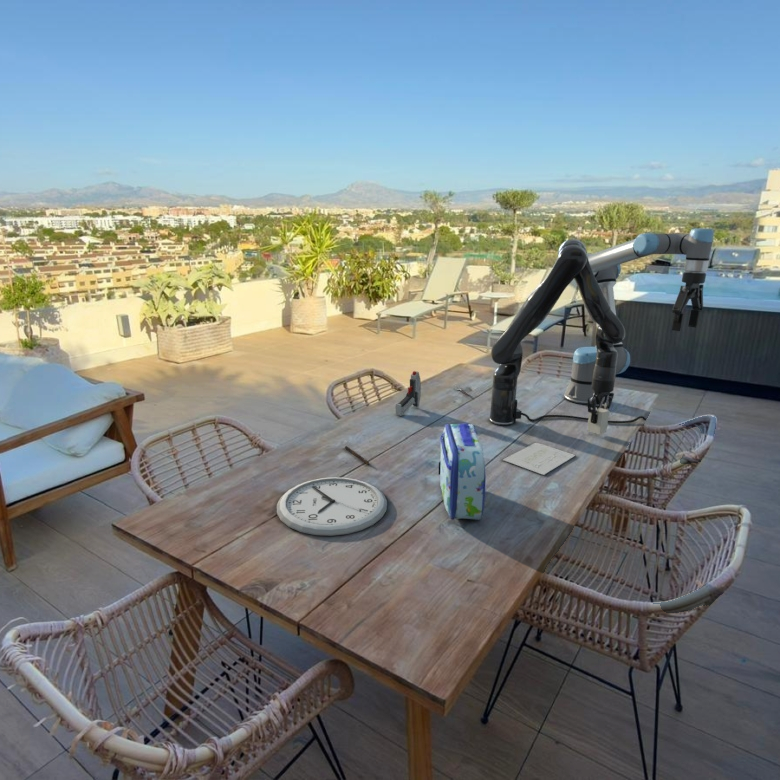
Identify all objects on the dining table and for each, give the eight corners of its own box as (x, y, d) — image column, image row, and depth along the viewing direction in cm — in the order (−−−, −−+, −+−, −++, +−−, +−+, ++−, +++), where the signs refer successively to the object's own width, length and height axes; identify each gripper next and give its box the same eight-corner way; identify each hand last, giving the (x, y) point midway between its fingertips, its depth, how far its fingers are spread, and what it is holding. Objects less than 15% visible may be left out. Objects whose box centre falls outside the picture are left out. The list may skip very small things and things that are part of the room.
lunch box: (436, 479, 158) (439, 414, 152) (472, 480, 158) (476, 415, 152) (443, 526, 133) (448, 451, 127) (486, 527, 133) (492, 452, 127)
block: (593, 428, 198) (596, 406, 195) (606, 432, 194) (609, 410, 191) (586, 430, 195) (589, 408, 193) (599, 434, 191) (602, 412, 189)
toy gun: (394, 379, 206) (416, 369, 217) (395, 417, 212) (416, 405, 223) (399, 380, 205) (420, 370, 216) (400, 418, 211) (421, 406, 222)
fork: (466, 397, 235) (466, 393, 234) (453, 387, 250) (453, 383, 249) (471, 397, 236) (472, 392, 235) (458, 387, 250) (458, 383, 250)
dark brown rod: (344, 448, 179) (344, 445, 179) (346, 448, 179) (346, 445, 179) (367, 464, 167) (367, 462, 167) (368, 464, 167) (368, 461, 167)
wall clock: (392, 527, 129) (268, 531, 127) (391, 533, 130) (269, 537, 127) (383, 473, 158) (282, 475, 155) (383, 478, 158) (282, 480, 156)
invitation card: (535, 442, 186) (575, 454, 176) (535, 442, 187) (575, 455, 176) (502, 459, 172) (543, 474, 162) (502, 460, 172) (543, 475, 162)
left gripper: (605, 372, 195) (598, 414, 200) (583, 378, 187) (577, 422, 192) (624, 376, 190) (617, 420, 195) (602, 383, 181) (595, 428, 186)
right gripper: (698, 270, 204) (688, 324, 210) (668, 272, 189) (658, 330, 195) (719, 271, 198) (708, 327, 204) (690, 274, 183) (679, 333, 190)
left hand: (597, 421), depth 193 cm, fingers closed on block, 4 cm apart
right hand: (684, 328), depth 200 cm, fingers open, 13 cm apart
